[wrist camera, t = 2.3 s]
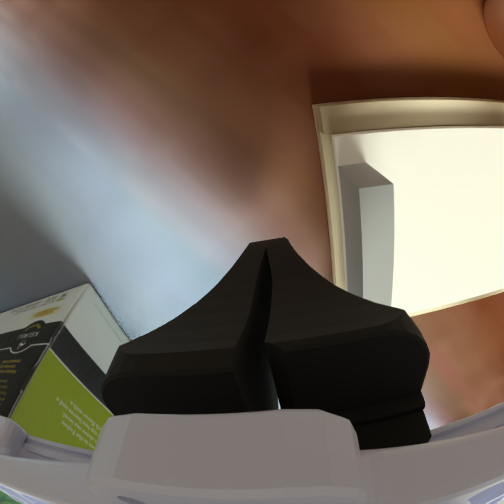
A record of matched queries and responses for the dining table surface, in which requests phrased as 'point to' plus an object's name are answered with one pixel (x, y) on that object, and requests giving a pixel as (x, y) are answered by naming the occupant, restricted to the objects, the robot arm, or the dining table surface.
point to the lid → (422, 213)
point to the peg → (495, 22)
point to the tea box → (58, 367)
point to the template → (380, 118)
